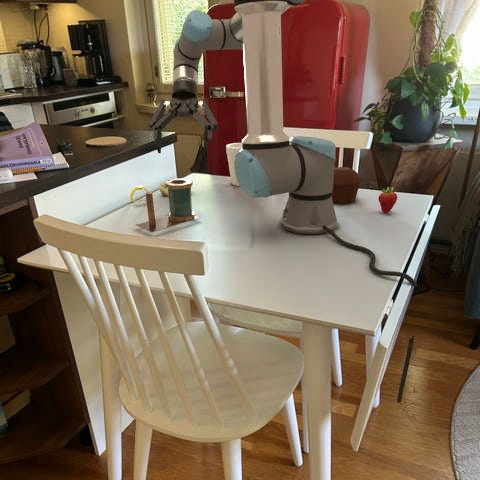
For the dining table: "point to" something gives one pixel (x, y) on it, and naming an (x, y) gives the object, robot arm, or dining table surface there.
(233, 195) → the dining table surface
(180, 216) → the spool
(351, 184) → the muffin
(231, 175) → the foam cup
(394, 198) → the fruit
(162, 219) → the spool stand
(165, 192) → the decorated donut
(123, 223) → the dining table surface
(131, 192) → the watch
